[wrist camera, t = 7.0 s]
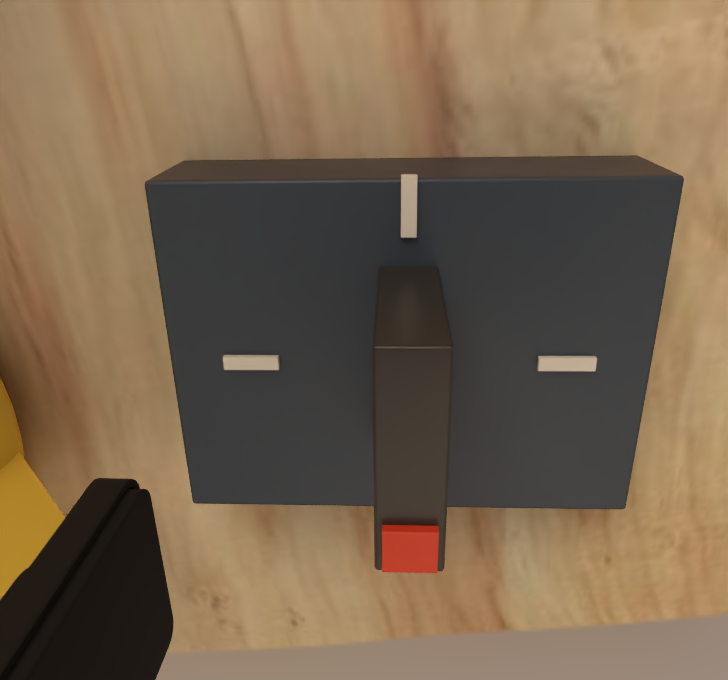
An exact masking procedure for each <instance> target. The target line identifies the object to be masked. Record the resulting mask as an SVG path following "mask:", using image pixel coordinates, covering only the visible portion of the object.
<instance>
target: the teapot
mask: <svg viewBox="0 0 728 680" xmlns="http://www.w3.org/2000/svg"><path fill="white" fill-rule="evenodd" d="M64 519H65V516H64V515H63V514H62V512H61V511H60V509H59V508H58V506H57V505H56V504H55V502H54V501H53V499H52V498H51V496H50V495H49V494H48V492H47V491H46V489H45V488H44V486H43V485H42V484H41V482H40V481H39V479H38V478H37V476H36V475H35V474H34V472H33V471H32V469H31V468H30V466H29V465H28V464H27V462H26V461H25V459H24V451H23V443H22V438H21V434H20V430H19V427H18V423H17V419H16V416H15V412H14V409H13V405H12V403H11V401H10V398H9V396H8V393H7V391H6V389H5V386H4V384H3V382H2V379H1V377H0V600H1V598H2V597H3V596H4V594H5V593H6V592H7V590H8V589H9V588H10V586H11V585H12V584H13V582H14V581H15V580H16V578H17V577H18V576H19V575H20V574H21V573H22V572H23V571H24V570H25V569H27V568H29V567H30V565H31V564H32V562H33V561H34V560H35V558H36V557H37V556H38V554H39V553H40V552H41V550H42V549H43V548H44V546H45V545H46V543H47V542H48V541H49V539H50V538H51V537H52V535H53V534H54V533H55V531H56V530H57V528H58V527H59V526H60V524H61V523H62V522H63V520H64Z"/></svg>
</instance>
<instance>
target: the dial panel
mask: <svg viewBox="0 0 728 680" xmlns="http://www.w3.org/2000/svg"><path fill="white" fill-rule="evenodd" d="M683 181H684V179H683V176H681V175H679V174H676V173H674V172H672V171H670V170H668V169H665V168H663V167H661V166H659V165H657V164H654V163H652V162H650V161H648V160H646V159H643V158H641V157H639V156H560V157H470V158H380V159H290V160H200V161H183V162H181V163H179V164H177V165H175V166H173V167H172V168H170V169H168V170H166V171H164V172H162V173H161V174H159V175H157V176H155V177H153V178H151V179H150V180H148V181H146V182H145V190H146V196H147V203H148V209H149V216H150V223H151V229H152V236H153V242H154V249H155V256H156V262H157V269H158V275H159V282H160V288H161V295H162V302H163V308H164V315H165V321H166V328H167V335H168V341H169V348H170V354H171V361H172V367H173V374H174V381H175V387H176V394H177V400H178V407H179V413H180V420H181V427H182V433H183V440H184V446H185V453H186V460H187V466H188V473H189V479H190V486H191V492H192V499H193V502H194V503H204V504H276V505H349V506H374V448H373V352H372V348H373V335H374V322H375V309H376V296H377V283H378V270H379V268H380V267H437V268H438V269H439V273H440V278H441V283H442V289H443V294H444V299H445V304H446V309H447V315H448V320H449V325H450V330H451V335H452V340H453V346H454V362H453V384H452V406H451V428H450V450H449V472H448V494H447V507H493V508H565V509H625V506H626V501H627V495H628V490H629V484H630V478H631V473H632V467H633V462H634V456H635V450H636V445H637V439H638V433H639V428H640V422H641V417H642V411H643V405H644V400H645V394H646V389H647V383H648V377H649V372H650V366H651V361H652V355H653V349H654V344H655V338H656V333H657V327H658V321H659V316H660V310H661V305H662V299H663V293H664V288H665V282H666V276H667V271H668V265H669V260H670V254H671V248H672V243H673V237H674V232H675V226H676V220H677V215H678V209H679V204H680V198H681V192H682V187H683Z"/></svg>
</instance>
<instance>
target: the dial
mask: <svg viewBox="0 0 728 680" xmlns="http://www.w3.org/2000/svg"><path fill="white" fill-rule="evenodd" d="M372 352H373V448H374V544H375V568H376V569H377V570H382V572H408V573H437V572H438V571H443V569H444V561H445V539H446V516H447V494H448V472H449V450H450V428H451V406H452V384H453V362H454V346H453V340H452V335H451V330H450V325H449V320H448V315H447V309H446V304H445V299H444V294H443V289H442V283H441V278H440V273H439V269H438V268H437V267H380V268H379V270H378V283H377V296H376V309H375V322H374V335H373V348H372Z"/></svg>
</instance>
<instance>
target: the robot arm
mask: <svg viewBox="0 0 728 680" xmlns="http://www.w3.org/2000/svg"><path fill="white" fill-rule="evenodd" d="M172 633H173V615H172V610H171V604H170V599H169V593H168V588H167V582H166V577H165V572H164V566H163V561H162V555H161V550H160V545H159V539H158V534H157V528H156V523H155V518H154V512H153V507H152V501H151V497H150V493H149V492H148V490H146V489H140V487H139V484H138V483H137V481H136V480H133V479H111V478H98V479H95V480H94V481H93V482H92V483H91V484H90V485H89V486H88V488H87V489H86V490H85V492H84V493H83V495H82V496H81V497H80V499H79V500H78V501H77V503H76V504H75V505H74V507H73V508H72V509H71V511H70V512H69V514H68V515H67V516H66V518H65V519H64V520H63V522H62V523H61V524H60V526H59V527H58V528H57V530H56V531H55V533H54V534H53V535H52V537H51V538H50V539H49V541H48V542H47V543H46V545H45V546H44V548H43V549H42V550H41V552H40V553H39V554H38V556H37V557H36V558H35V560H34V561H33V562H32V564H31V565H30V567H29V568H27V569H25V570H24V571H23V572H22V573H21V574H20V575H19V576H18V577H17V578H16V580H15V581H14V582H13V584H12V585H11V586H10V588H9V589H8V590H7V592H6V593H5V594H4V596H3V597H2V598H1V600H0V680H155V679H156V677H157V674H158V672H159V669H160V667H161V664H162V662H163V659H164V657H165V655H166V652H167V650H168V647H169V644H170V641H171V638H172Z"/></svg>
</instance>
